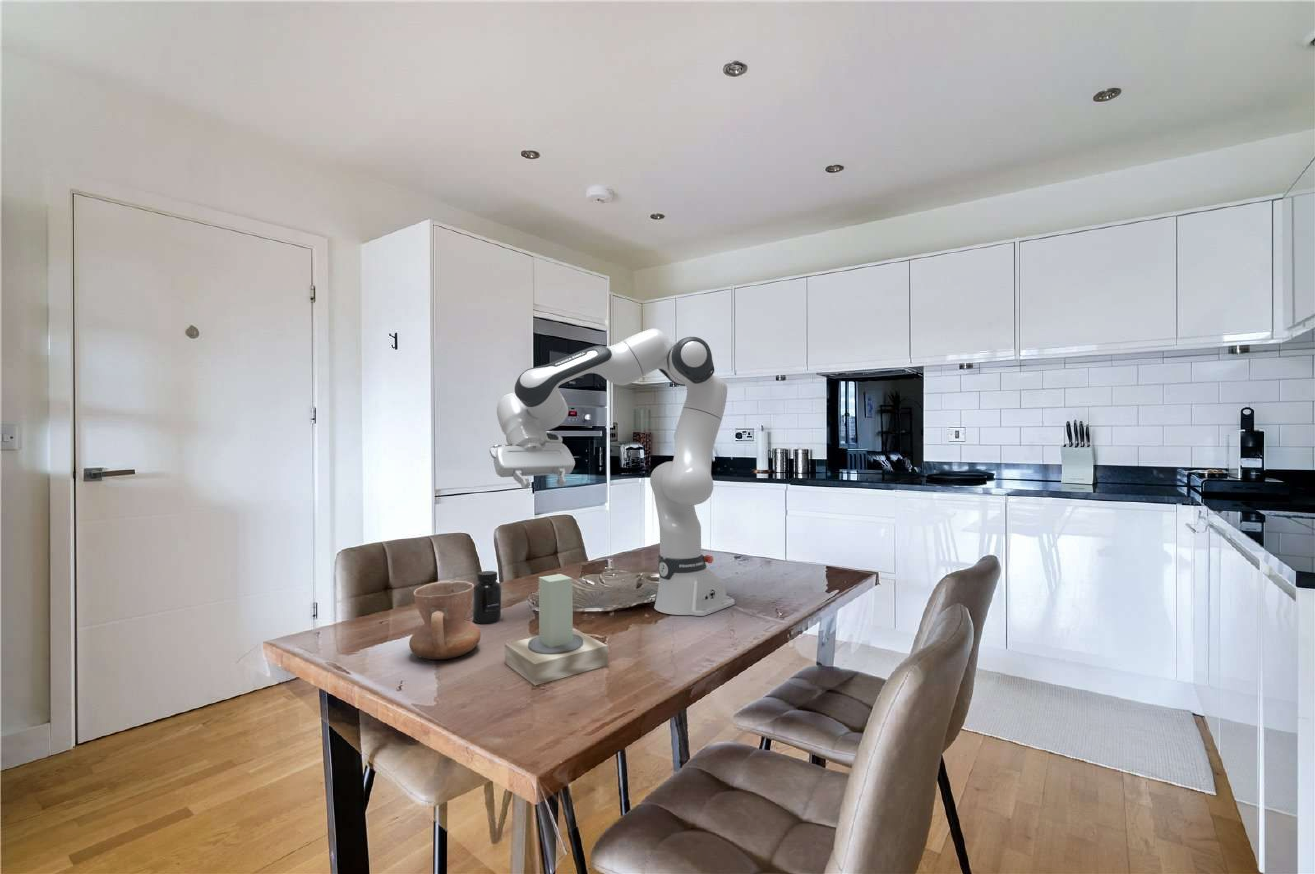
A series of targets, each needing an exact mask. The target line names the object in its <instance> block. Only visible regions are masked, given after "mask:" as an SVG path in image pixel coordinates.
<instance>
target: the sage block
mask: <svg viewBox="0 0 1315 874" xmlns="http://www.w3.org/2000/svg"><path fill="white" fill-rule="evenodd" d="M573 603H574V602H573V577H570V576H567V575H565V574H562V573H557V574H552V575H545V576H538V636H539V641H540V642H542V643H544V644H545V645H547V646H549V647H550V648H551V647H555V646H559V645H564V644H568V643H572V642H573V628H574V623H573V622H574V621H573V620H574V619H573V616H574V615H573V614H574V613H573V611H574V610H573V605H574V604H573Z"/></svg>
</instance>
